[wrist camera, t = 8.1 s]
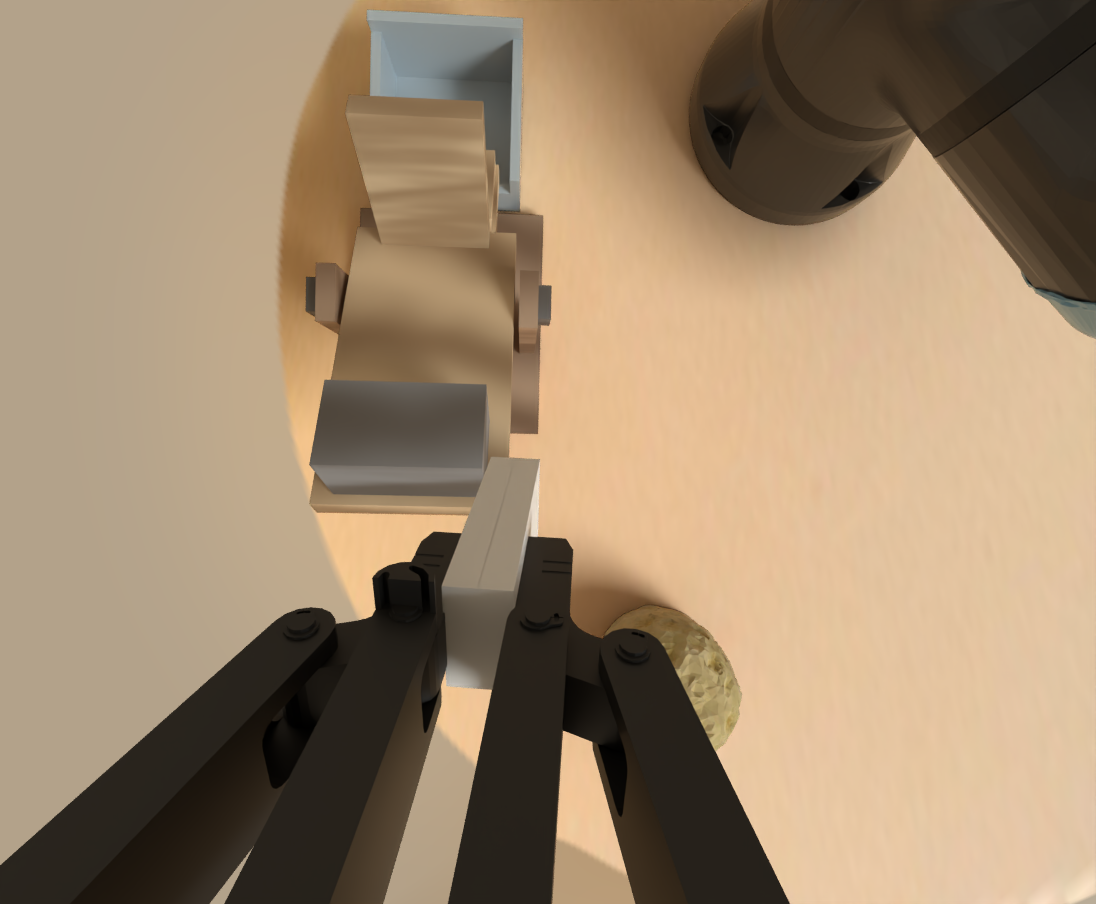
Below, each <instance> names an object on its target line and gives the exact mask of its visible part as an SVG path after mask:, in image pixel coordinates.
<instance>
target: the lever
mask: <svg viewBox="0 0 1096 904" xmlns="http://www.w3.org/2000/svg"><path fill="white" fill-rule="evenodd" d="M345 115H346V118H347V122H348V125H349V129H350V133H351V136H352V140H353V143H354V147H355V150H356V154H357V157H358V161H359V165H360V168H361V172H362V175H363V179H364V182H365V186H366V190H367V193H368V197H369V200H370V204H371V207H372V211H373V214H374V218H375V222H376V225H377V228H371V227H358V228H357V234H356V239H355V245H354V251H353V256H352V262H351V268H350V274H349V279H348V285H347V291H346V297H345V302H344V308H343V314H342V319H341V325H340V331H339V337H338V342H337V348H336V354H335V360H334V365H333V371H332V377H331V380H324V386H323V392H322V397H321V403H320V408H319V414H318V419H317V425H316V431H315V436H314V442H313V447H312V453H311V458H310V464H309V465H310V466H311V467H312V469H313V470H314V471H315V474H314V480H313V486H312V491H311V497H310V503H309V504H310V505H311V507H312V508H313V509H314V510H315V511H316V512H318V513H371V514H424V515H469V513H470V511H471V508H472V505H473V503H474V500H475V498H476V495H477V492H478V490H479V487H480V485H481V482H482V479H483V477H484V474H485V472H486V469H487V466H488V464H489V461H490V458H491V457H506V458H509V454H510V423H511V393H512V362H513V332H514V301H515V271H516V233H498V232H497V217H498V197H499V165H496V163H495V150H486V144H485V125H484V106H483V101H468V100H447V99H427V98H406V97H386V96H365V95H349V96H348V101H347V106H346V111H345Z"/></svg>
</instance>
